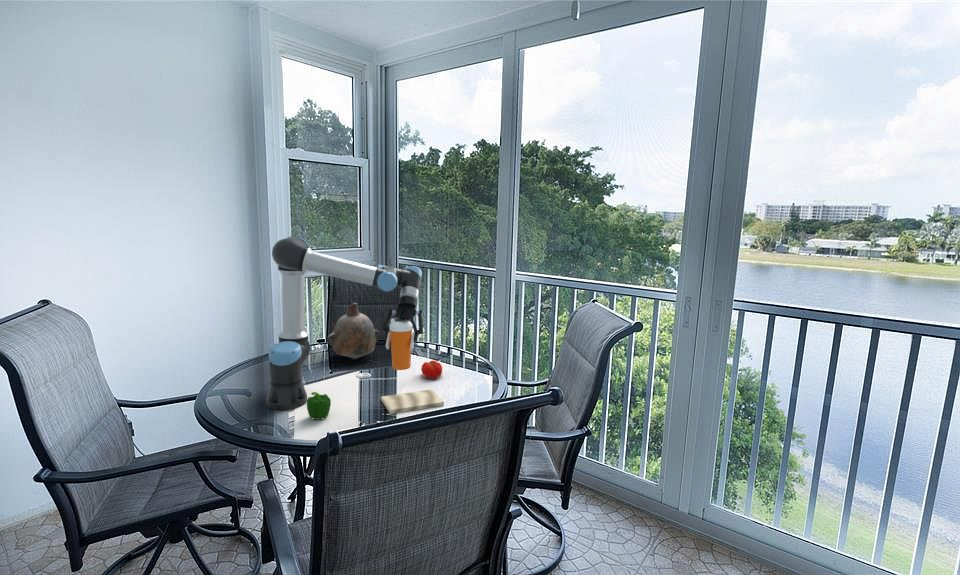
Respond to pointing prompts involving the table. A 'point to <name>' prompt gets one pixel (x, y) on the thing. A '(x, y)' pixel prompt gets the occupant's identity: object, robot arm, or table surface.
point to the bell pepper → (318, 405)
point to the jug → (353, 334)
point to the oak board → (411, 401)
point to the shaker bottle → (401, 342)
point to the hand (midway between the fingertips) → (399, 348)
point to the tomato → (431, 369)
